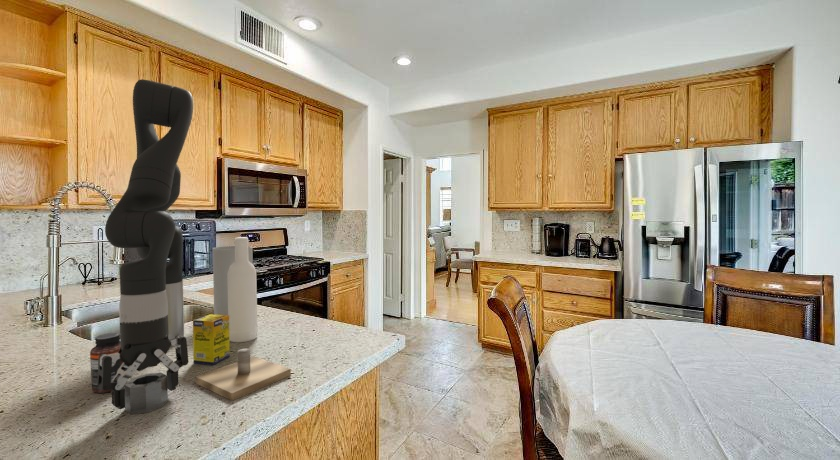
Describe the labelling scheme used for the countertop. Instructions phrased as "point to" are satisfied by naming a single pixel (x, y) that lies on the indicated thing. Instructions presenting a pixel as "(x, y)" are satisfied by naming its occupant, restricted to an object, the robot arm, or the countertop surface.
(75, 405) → the countertop surface
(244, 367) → the shaft stand
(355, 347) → the countertop surface
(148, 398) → the ring
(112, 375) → the supplement bottle
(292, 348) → the countertop surface
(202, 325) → the supplement box
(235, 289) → the bottle
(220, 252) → the cylinder vase
